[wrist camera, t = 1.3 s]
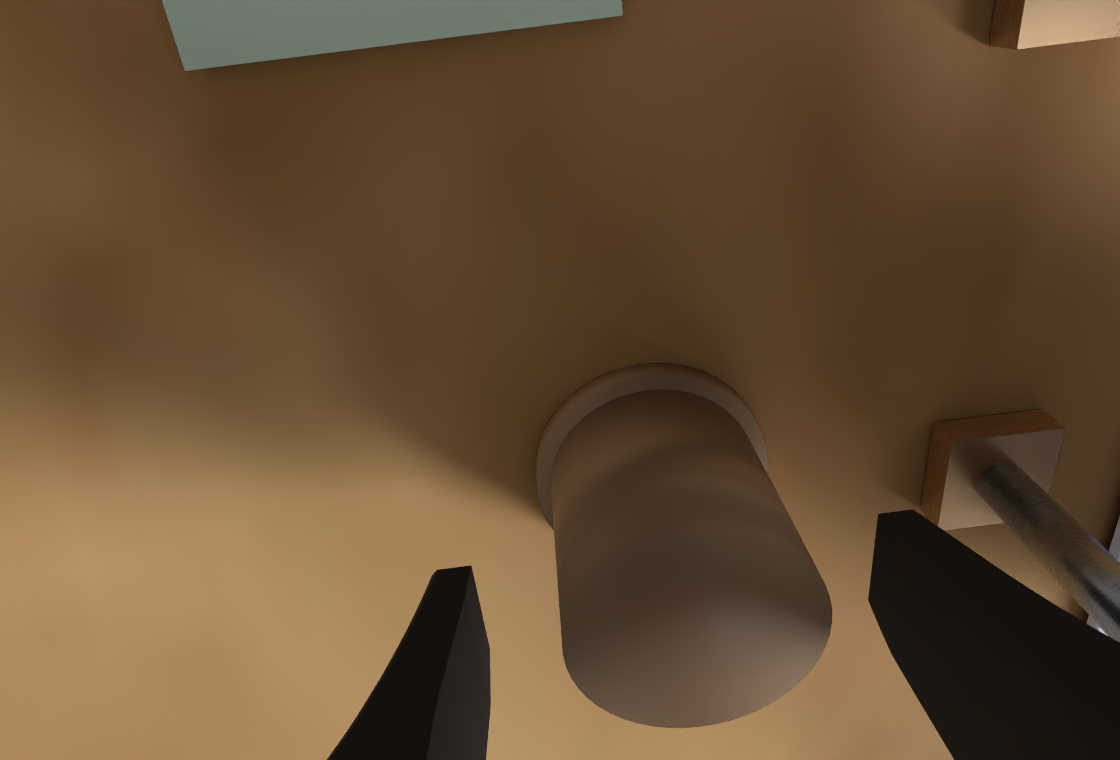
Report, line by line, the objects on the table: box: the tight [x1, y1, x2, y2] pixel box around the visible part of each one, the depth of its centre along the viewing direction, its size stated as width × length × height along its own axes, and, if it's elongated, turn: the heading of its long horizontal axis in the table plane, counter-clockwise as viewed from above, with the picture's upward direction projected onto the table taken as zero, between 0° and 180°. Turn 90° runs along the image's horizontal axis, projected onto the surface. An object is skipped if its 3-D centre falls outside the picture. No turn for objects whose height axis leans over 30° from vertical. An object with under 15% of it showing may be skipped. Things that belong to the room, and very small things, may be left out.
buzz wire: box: [920, 0, 1120, 642], centre depth 10 cm, size 7×20×6 cm, turn 6°
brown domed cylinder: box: [536, 363, 832, 728], centre depth 14 cm, size 5×5×5 cm
